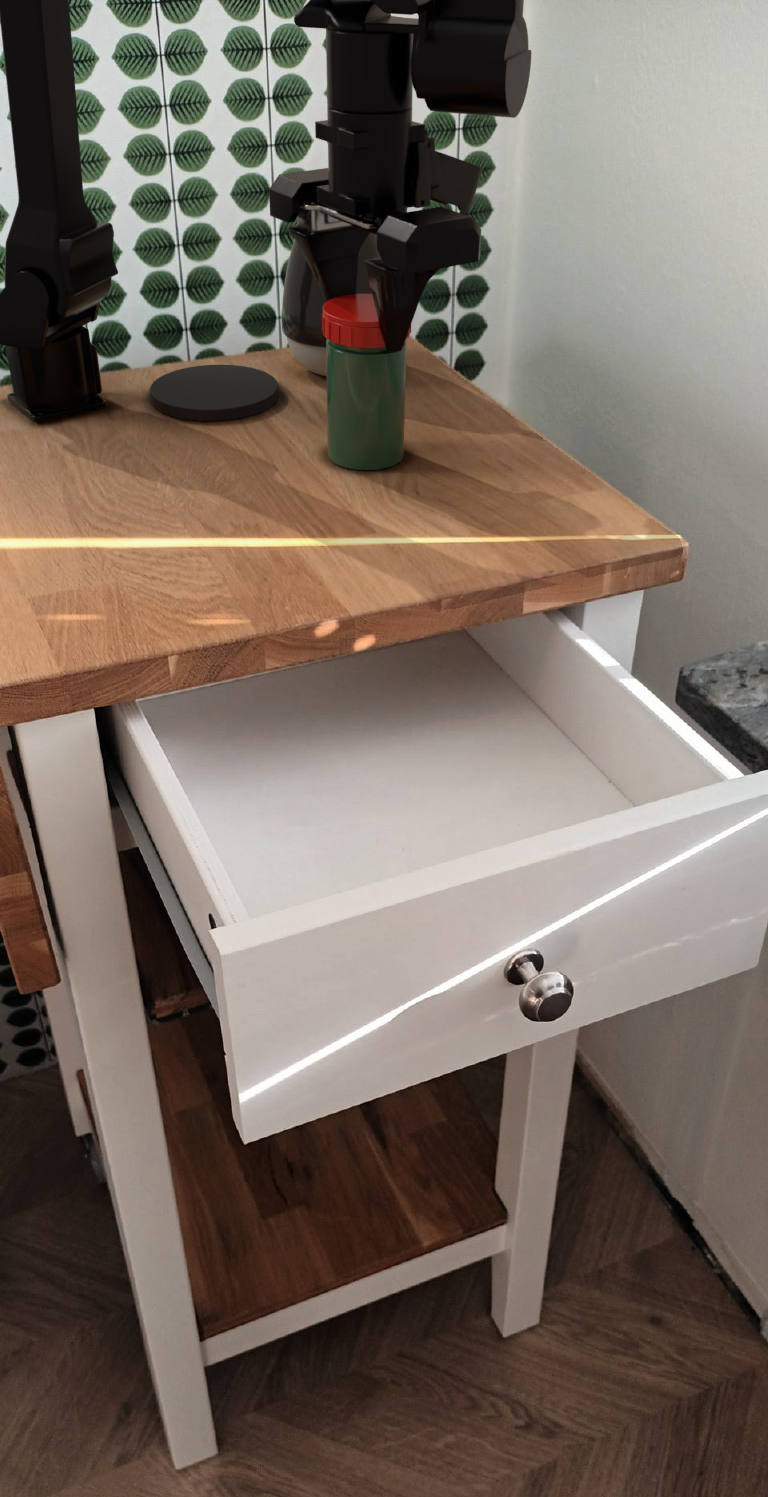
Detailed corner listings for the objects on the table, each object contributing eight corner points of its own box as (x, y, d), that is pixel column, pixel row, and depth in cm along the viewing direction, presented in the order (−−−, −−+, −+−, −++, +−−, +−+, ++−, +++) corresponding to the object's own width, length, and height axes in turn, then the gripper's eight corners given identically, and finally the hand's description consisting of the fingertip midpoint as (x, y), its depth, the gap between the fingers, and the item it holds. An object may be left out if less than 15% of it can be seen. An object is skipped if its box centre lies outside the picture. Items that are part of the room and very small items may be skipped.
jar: (355, 477, 95) (355, 338, 88) (313, 449, 99) (310, 315, 92) (418, 459, 98) (423, 323, 91) (375, 433, 101) (376, 301, 95)
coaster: (188, 431, 102) (187, 419, 101) (129, 391, 109) (128, 380, 109) (302, 403, 107) (302, 392, 106) (239, 367, 114) (238, 356, 114)
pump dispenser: (350, 396, 108) (347, 211, 99) (260, 371, 113) (250, 192, 104) (418, 365, 115) (422, 188, 106) (331, 342, 120) (327, 171, 111)
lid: (417, 322, 94) (417, 297, 93) (402, 351, 89) (403, 325, 88) (332, 315, 95) (332, 290, 94) (313, 344, 90) (313, 318, 89)
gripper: (552, 117, 81) (533, 355, 90) (390, 77, 93) (388, 290, 103) (412, 134, 76) (407, 385, 85) (260, 90, 88) (270, 313, 98)
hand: (369, 339), depth 93 cm, fingers closed on lid, 6 cm apart
